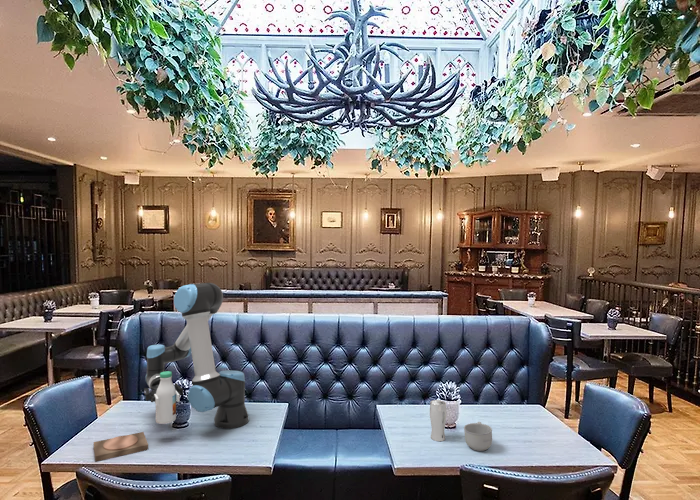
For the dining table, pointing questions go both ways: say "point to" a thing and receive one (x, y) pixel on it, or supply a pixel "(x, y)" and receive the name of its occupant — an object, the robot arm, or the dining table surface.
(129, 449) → the serving board
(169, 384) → the milk bottle
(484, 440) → the teacup
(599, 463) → the dining table surface
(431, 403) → the beer glass
